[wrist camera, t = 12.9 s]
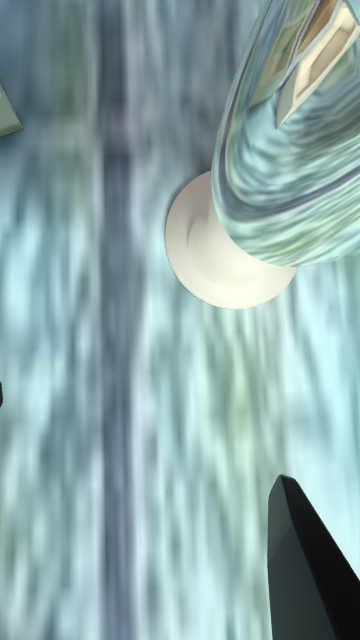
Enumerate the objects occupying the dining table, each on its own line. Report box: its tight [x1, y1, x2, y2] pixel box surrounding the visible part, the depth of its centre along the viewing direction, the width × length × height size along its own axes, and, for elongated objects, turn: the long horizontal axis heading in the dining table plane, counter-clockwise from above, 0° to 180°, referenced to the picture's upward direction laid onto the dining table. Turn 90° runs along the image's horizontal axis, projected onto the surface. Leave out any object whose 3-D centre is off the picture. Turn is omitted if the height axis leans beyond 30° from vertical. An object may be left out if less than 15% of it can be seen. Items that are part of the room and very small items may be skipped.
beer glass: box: [188, 0, 360, 288], centre depth 11 cm, size 7×7×15 cm
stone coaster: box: [165, 171, 298, 309], centre depth 19 cm, size 10×10×1 cm
